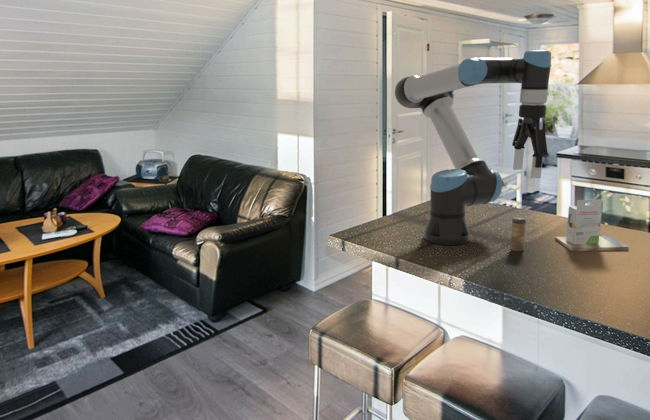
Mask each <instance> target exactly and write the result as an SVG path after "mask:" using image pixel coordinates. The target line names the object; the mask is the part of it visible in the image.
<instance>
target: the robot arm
mask: <svg viewBox="0 0 650 420" xmlns="http://www.w3.org/2000/svg"><path fill="white" fill-rule="evenodd" d="M551 68H552V52H551V51H550V50H546V49H544V50H543V49H539V50H537V49H536V50H534V49H533V50H532V49H531V50H526V51H524V55H523V57H469V58H465V59H463V60H462V61H461V62H460V63H458V64H456V65H452V66H449V67H445V68H443V69H440V70H436V71H433V72H430V73H427V74H424V75H420V76H418V75H416V74H415V75H410V76H406V77H403V78H401V79H400V80H399V81H398V82H397V83H396V86H395V89H394V96H395V99H396V101H397V102H398V104H400V106H402V107H404V108H406V109H407V108H408V109H421V111H422V113H423V116H424V117H426V118H429V119H430V120H431V122H432V124H433V126H434V127H435V131H436V133H437V135H438V136H439V138H440V140H441V142H442V144H443V146H444V148H445V151H446V153H447V155H448V157H449V158H450V160H451V162H452V165H453V166H454V168H452V169H443V170H442V169H441V170H440V171H437V172H435V173H433V175H432V176H431V180H430V181H431V182H430V185H429V186H430V205H429V206H430V207H429V219H428V221H427V223H426V227H425V230H424V234H423V238H424V240H425V241H427V242H429V243H431V244H435V245H442V246H458V245H463V244H466V243H468V242H469V241H470V230H469V227H468V223H467V221H466V207H473V206H479V205H486V204H488V203H489V204H490V203H492V202H495V201H496V200H498V198H499V197H500V196H501V193H502V189H503V179H502V177H501V174H500V173H499V171H497V170H495V169H492V168H489V166H488V165H487V163H486V161H485V160H484V159H480V158H479V157H478V155H477V153H476V151H475V149H474V147H473V146H472V143H471V141H470V140H469V138H468V135H467V134H466V132H465V130H464V128H463V126H462V124H461V122H460V121H459V118H458V117H457V114H456V112H455V111H454V108H453V107H452V106H453V105H454V98H455V97H454V96H455V94H454V92H455V91H457V90H460V89H465V88H469V87H474V86H478V85H483V84H484V85H485V84H487V85H488V84H520V85H521V88H520V94H519V103H520V105H519V108H518V116H519V117H520V118H518V120H517V126H516V129H515V132H514V133H515V134H514V137H513V140H512V142H511V143H512V144H511V145H512V146H513V147H514V156H513V167H512V169H513V170H523V166H524V165H523V164H524V157H525V155H524V154H525V148H526V147H525V145H526V143H527V141H528V139H530V141H531V146H532V149H533V150H532V151H533V154H532V155H531V156H532V161H531V162H532V163H531V171H530V179H541V178H542V170H543V168H542V167H543V162H544V161H543V158H544V157H545V156H548V143H547V135H546V122H544V121H541V119H543V118H545V117H546V114H547V105H546V103H547V102H548V101H547V100H548V96H549V81H550V74H551Z"/></svg>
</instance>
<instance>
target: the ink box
mask: <svg viewBox="0 0 650 420" xmlns="http://www.w3.org/2000/svg"><path fill="white" fill-rule="evenodd" d="M589 203H591V204H590V205H588V204H589ZM586 204H587V205H586ZM602 207H603V199H602V198H600V199H599V198H598V199H577V201H576V205H569V206H568V214H567V224H566V225H567V226H566V235H565V237H566V241H568V242H570V243H572V244H598V243H599V236H600V232H601V222H602V212H603V209H602Z"/></svg>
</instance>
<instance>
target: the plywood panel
mask: <svg viewBox="0 0 650 420" xmlns="http://www.w3.org/2000/svg"><path fill="white" fill-rule="evenodd" d="M554 240H555V241H556V242H558V243H559V244H560V245H562V246H563V247H565V248H566V249H567V250H569V251H570V252H584V251H585V252H587V251H591V252H592V251H593V252H594V251H597V252H598V251H629V248H630V246H629V245H627V244H624V243H623V242H621V241H620V240H617V239H616V238H614V237H613V236H610V235H599V243H598V244H572V243H570V242H568V241H566V236H555V238H554Z"/></svg>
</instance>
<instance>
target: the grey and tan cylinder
mask: <svg viewBox="0 0 650 420" xmlns="http://www.w3.org/2000/svg"><path fill="white" fill-rule="evenodd" d="M511 221H512V222H511V234H510V247H509V248H510V250H511V251H514V252H522V251H524V249H525V236H526V235H525V234H526V222H527V219H526V218H524V217H512V220H511Z"/></svg>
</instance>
